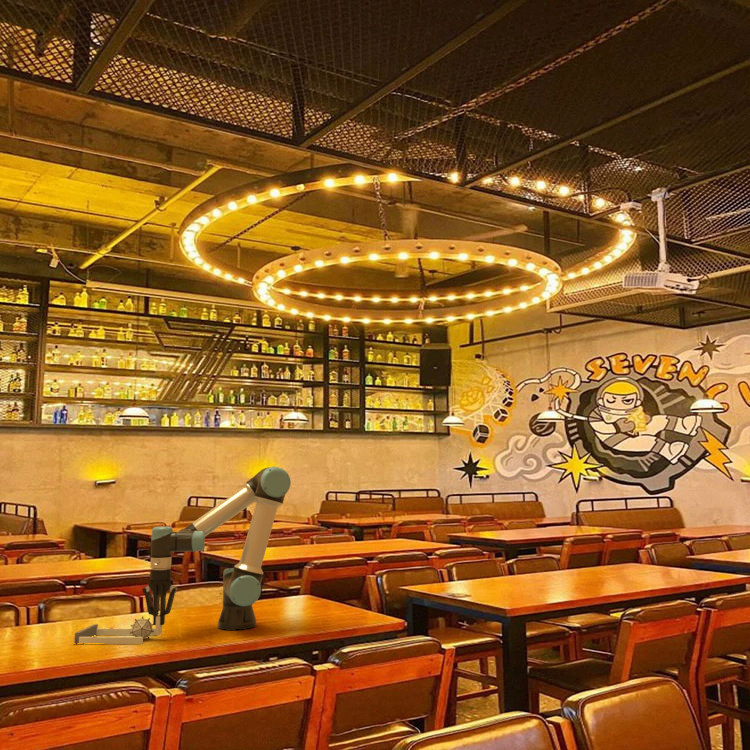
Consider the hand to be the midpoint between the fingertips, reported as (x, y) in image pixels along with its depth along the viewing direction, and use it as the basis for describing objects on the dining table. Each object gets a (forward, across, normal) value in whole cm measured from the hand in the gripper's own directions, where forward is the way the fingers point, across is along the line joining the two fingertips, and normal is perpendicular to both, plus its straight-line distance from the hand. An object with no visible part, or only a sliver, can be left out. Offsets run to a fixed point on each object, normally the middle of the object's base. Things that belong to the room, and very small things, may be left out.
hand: (158, 634), depth 274 cm
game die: (+2, -6, 0) cm, 7 cm away
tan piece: (+2, -16, 0) cm, 16 cm away
